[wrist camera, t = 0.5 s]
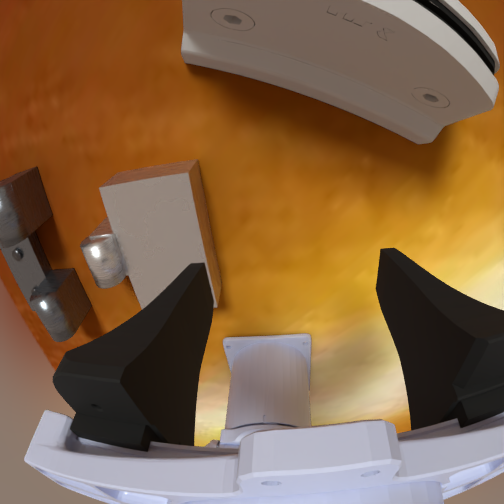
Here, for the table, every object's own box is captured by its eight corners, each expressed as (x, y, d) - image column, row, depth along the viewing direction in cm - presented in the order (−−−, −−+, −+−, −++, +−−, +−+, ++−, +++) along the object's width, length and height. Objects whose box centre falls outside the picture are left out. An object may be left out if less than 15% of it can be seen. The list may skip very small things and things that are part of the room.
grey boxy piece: (222, 282, 25) (214, 322, 21) (122, 287, 26) (102, 323, 22) (198, 158, 20) (181, 181, 16) (84, 180, 21) (51, 205, 17)
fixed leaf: (91, 305, 27) (69, 343, 23) (38, 304, 28) (15, 336, 24) (37, 166, 20) (-4, 191, 16) (-14, 185, 21) (-49, 209, 16)
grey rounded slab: (178, 61, 16) (133, -30, 6) (204, 3, 15) (185, -99, 5) (422, 146, 18) (533, 138, 8) (433, 89, 17) (534, 56, 7)
